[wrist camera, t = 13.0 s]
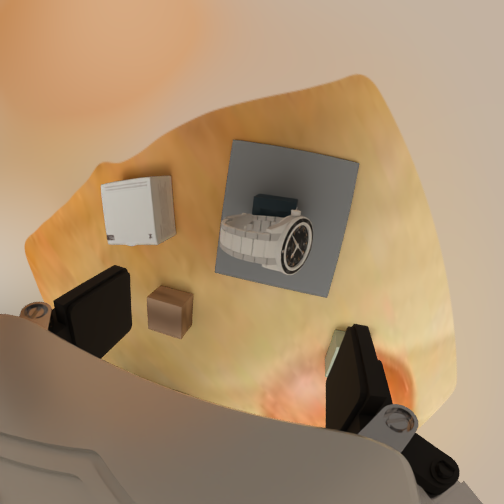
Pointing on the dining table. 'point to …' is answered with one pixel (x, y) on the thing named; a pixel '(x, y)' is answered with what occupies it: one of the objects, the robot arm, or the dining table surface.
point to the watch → (269, 234)
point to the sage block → (333, 350)
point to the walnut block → (170, 311)
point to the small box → (139, 211)
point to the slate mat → (309, 203)
